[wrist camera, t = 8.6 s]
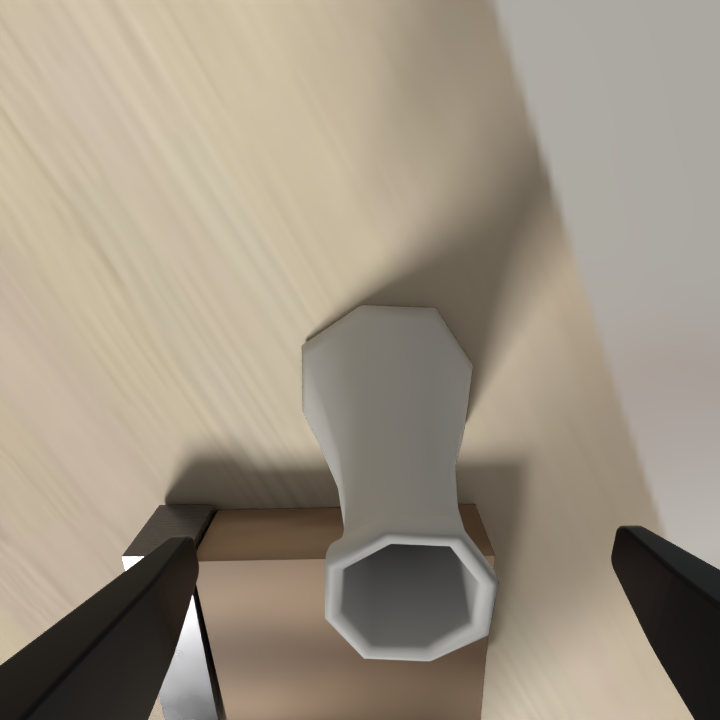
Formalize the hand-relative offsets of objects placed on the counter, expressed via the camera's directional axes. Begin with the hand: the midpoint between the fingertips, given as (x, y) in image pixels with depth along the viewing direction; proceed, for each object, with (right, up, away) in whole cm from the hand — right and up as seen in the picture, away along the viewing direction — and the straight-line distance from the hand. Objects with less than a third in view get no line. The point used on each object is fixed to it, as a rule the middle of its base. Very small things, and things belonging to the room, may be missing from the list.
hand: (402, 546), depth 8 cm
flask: (0, +3, +8) cm, 9 cm away
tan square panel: (-1, -8, +12) cm, 14 cm away
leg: (-9, -9, +12) cm, 17 cm away
